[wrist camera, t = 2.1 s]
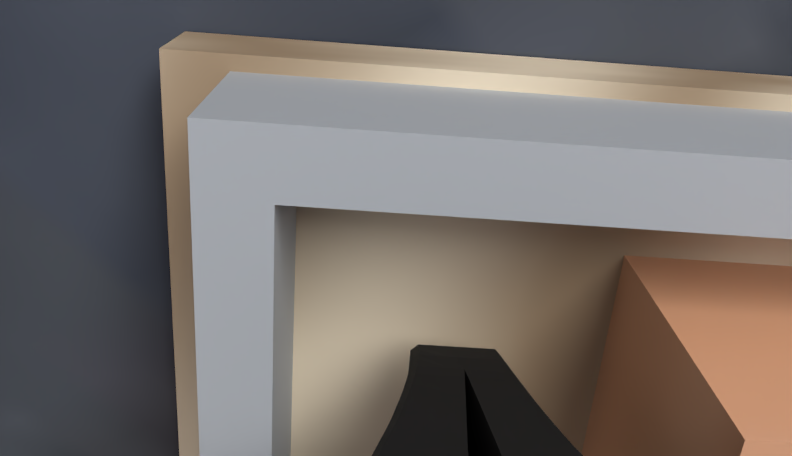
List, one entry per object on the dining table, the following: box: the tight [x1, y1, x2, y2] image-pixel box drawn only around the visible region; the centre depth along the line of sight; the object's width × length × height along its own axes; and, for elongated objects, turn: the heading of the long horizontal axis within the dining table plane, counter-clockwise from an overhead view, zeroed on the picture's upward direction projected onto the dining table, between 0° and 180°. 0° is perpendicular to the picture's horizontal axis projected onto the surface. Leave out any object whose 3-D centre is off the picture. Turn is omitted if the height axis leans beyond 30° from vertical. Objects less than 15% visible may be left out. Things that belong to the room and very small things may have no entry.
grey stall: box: [187, 71, 792, 456], centre depth 12 cm, size 13×10×2 cm
